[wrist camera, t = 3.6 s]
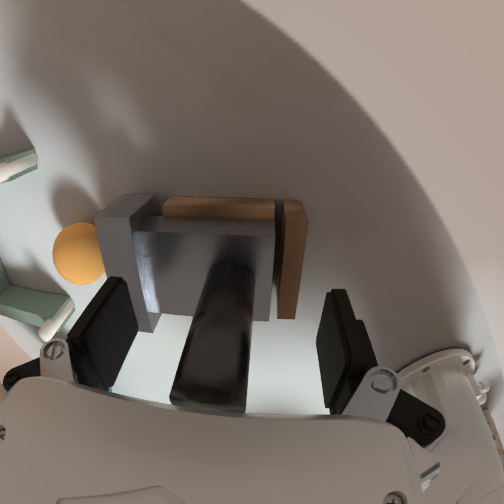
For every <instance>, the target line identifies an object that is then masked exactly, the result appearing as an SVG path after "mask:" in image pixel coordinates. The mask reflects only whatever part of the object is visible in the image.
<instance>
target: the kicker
mask: <svg viewBox="0 0 504 504" xmlns="http://www.w3.org/2000/svg"><path fill="white" fill-rule="evenodd" d="M94 223H95V228H96V233H97V238H98V242H99V247H100V251H101V256H102V260H103V264H104V268H105V272H106V275H107V279H108V278H109V277H110V276H116V277H122V278H123V279H124V280H125V281H126V282H127V285H128V289H129V293H130V297H131V301H132V305H133V308H134V312H135V316H136V319H137V322H138V331H141V332H148V333H153V332H154V329H155V327H156V325H157V323H158V320H159V318H160V316H161V314H162V313H165V314H174V315H185V316H194V317H193V320H192V323H191V326H190V329H189V333H188V336H187V339H186V342H185V345H184V349H183V352H182V355H181V359H180V362H179V365H178V369H177V372H176V375H175V379H174V382H173V385H172V389H171V392H170V396H169V398H170V402H171V403H172V405H177V406H183V407H190V408H198V409H206V410H215V411H225V412H237V413H245V410H246V398H247V386H248V374H249V361H250V348H251V335H252V322H253V321H269V314H270V302H271V289H272V276H273V263H274V248H275V220H269V219H246V218H219V217H182V216H158V212H157V203H156V194H124V195H123V196H122V197H120V198H119V199H117V200H116V201H115V202H113V203H112V204H111V205H109V206H108V207H107V208H105V209H104V210H103V211H101V212H100V213H99V214H97V215H96V216H95V217H94Z"/></svg>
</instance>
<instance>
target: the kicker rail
mask: <svg viewBox="0 0 504 504" xmlns="http://www.w3.org/2000/svg"><path fill="white" fill-rule="evenodd" d="M162 213H163V216H182V217H219V218H246V219H269V220H274V215H275V202H274V199H254V198H224V197H170V198H169V199H168V200H167V201H166V202H165V203H164V204H163V205H162ZM307 223H308V221H307V218H306V215H305V211H304V208H303V205H302V202H301V201H294V200H283V211H282V225H281V239H280V252H279V264H278V276H277V287H276V291H277V319H295V314H296V307H297V300H298V294H299V287H300V279H301V272H302V264H303V257H304V249H305V240H306V232H307Z"/></svg>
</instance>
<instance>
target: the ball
mask: <svg viewBox="0 0 504 504" xmlns="http://www.w3.org/2000/svg"><path fill="white" fill-rule="evenodd" d="M53 261H54V264H55V267H56V269H57V271H58V272H59V274H60V275H61V276H62V277H63V278H64V279H65V280H67V281H69V282H71V283H73V284H77V285H85V284H89V283H92V282H94V281H96V280H97V279H98V278H100V277H101V276H102V274H103V273H104V272H105V268H104V264H103V260H102V256H101V251H100V247H99V242H98V238H97V233H96V228H95V226H94V225H92V224H89V223H86V222H77V223H73V224H70V225H68V226H67V227H65V228H64V229H63V230H62V231H61V232H60V233H59V234H58V236H57V238H56V240H55V242H54V246H53Z"/></svg>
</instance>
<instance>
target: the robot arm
mask: <svg viewBox="0 0 504 504" xmlns="http://www.w3.org/2000/svg"><path fill="white" fill-rule="evenodd" d="M137 332H138V322H137V319H136V316H135V312H134V308H133V305H132V301H131V297H130V293H129V289H128V285H127V282H126V281H125V280H124V279H123V278H122V277H116V276H110V277H109V278H108V279H107V280H106V282H105V283H104V284H103V285H102V287H101V288H100V289H99V291H98V292H97V293H96V295H95V296H94V298H93V299H92V300H91V302H90V303H89V304H88V306H87V307H86V309H85V310H84V311H83V313H82V314H81V316H80V317H79V319H78V320H77V321H76V323H75V324H74V326H73V327H72V329H71V330H70V332H69V333H68V335H67V336H68V338H67V339H66V341H65V340H64V339H61V338H54V339H51V340H49V341H47V342H46V343H45V344H44V345H43V346H42V348H41V350H40V357H39V358H37V359H34V360H32V361H30V362H27V363H25V364H22V365H20V366H17V367H15V368H13V369H11V370H9V371H8V372H7V373H6V375H5V376H4V379H3V384H1V383H0V504H504V470H503V467H502V463H501V460H500V457H499V454H498V451H497V448H496V445H495V442H494V439H493V437H492V434H491V431H490V429H489V426H488V424H487V421H486V419H485V416H484V414H483V411H482V409H481V407H480V405H482V404H484V403H485V402H486V399H487V394H486V392H488V391H489V389H490V382H489V381H484V382H481V383H479V384H477V383H476V381H475V379H474V377H473V373H474V371H475V361H474V359H473V357H472V355H471V354H470V353H469V352H468V351H467V350H464V349H455V348H454V349H447V350H443V351H440V352H436V353H433V354H431V355H429V356H426V357H424V358H422V359H420V360H418V361H416V362H414V363H412V364H411V365H409V366H407V367H406V368H404V369H403V370H401V371H400V372H398V373H396V372H395V371H394V370H392V369H390V368H388V367H385V366H378V363H377V360H376V357H375V354H374V351H373V348H372V345H371V342H370V339H369V336H368V333H367V330H366V328H365V325H364V322H363V321H362V320H356V318H355V315H354V312H353V309H352V306H351V303H350V300H349V298H348V295H347V292H346V290H345V289H332V290H331V292H327V294H326V298H325V303H324V307H323V312H322V316H321V321H320V325H319V329H318V333H317V338H316V347H317V354H318V360H319V367H320V374H321V381H322V388H323V396H324V404H325V408H329V410H330V415H282V414H253V413H237V412H225V411H215V410H206V409H198V408H190V407H183V406H177V405H170V404H164V403H159V402H153V401H148V400H143V399H138V398H134V397H129V396H125V395H120V394H116V393H112V392H108V390H109V388H110V387H112V386H113V385H114V383H115V380H116V378H117V376H118V374H119V371H120V369H121V367H122V365H123V362H124V360H125V358H126V356H127V354H128V352H129V349H130V347H131V345H132V343H133V341H134V339H135V337H136V335H137ZM336 414H337V415H336ZM386 495H387V496H386Z"/></svg>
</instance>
